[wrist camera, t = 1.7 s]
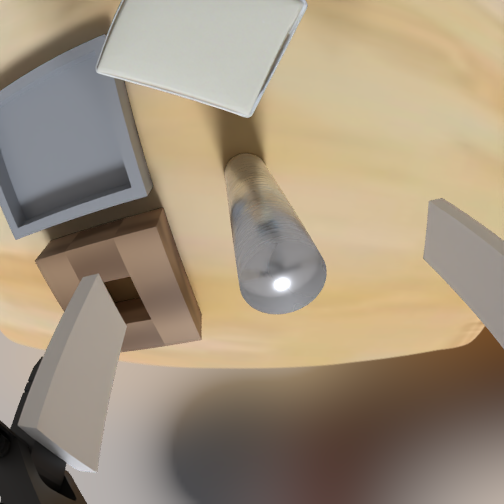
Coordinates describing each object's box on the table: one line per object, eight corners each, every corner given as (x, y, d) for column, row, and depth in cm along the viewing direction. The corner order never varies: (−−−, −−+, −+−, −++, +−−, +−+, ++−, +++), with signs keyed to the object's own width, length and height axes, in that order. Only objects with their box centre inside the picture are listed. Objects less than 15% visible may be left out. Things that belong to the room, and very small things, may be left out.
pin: (220, 158, 19) (230, 253, 9) (262, 149, 19) (323, 232, 9) (229, 197, 21) (248, 321, 10) (269, 188, 21) (328, 303, 10)
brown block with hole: (50, 240, 20) (34, 260, 18) (163, 207, 20) (156, 226, 18) (101, 331, 25) (94, 355, 23) (201, 314, 25) (201, 339, 23)
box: (152, 78, 16) (81, 72, 6) (179, 18, 14) (141, -54, 4) (231, 104, 17) (253, 123, 8) (258, 45, 15) (314, -2, 6)
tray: (-13, 108, 14) (-29, 112, 12) (115, 38, 14) (104, 34, 12) (27, 228, 19) (15, 240, 18) (153, 185, 19) (147, 196, 18)
